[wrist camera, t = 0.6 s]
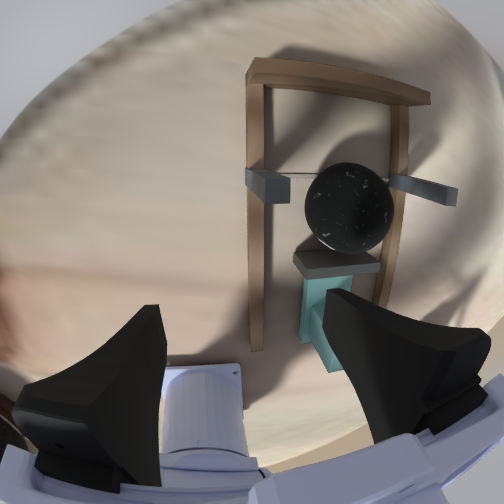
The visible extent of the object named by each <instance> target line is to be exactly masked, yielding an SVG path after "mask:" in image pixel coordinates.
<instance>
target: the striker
mask: <svg viewBox="0 0 504 504" xmlns="http://www.w3.org/2000/svg"><path fill="white" fill-rule="evenodd" d="M293 262H294V264H295V265H296V266H297V268H298V269H299V271H300V272H301V273H302V275H303V276H304V285H303V297H302V308H301V319H300V329H299V339H300V341H301V343H302V344H304V343H310V342H312V343H313V344H314V346H315V348H316V350H317V352H318V354H319V356H320V358H321V360H322V362H323V364H324V365H325V367H326V369H327V371H328V373H331V372H336V371H340V370H344V369H343V367H342V366H341V364H340V362H339V361H338V359H337V357H336V356H335V354H334V352H333V351H332V349H331V347H330V345H329V343H328V341H327V339H326V336H325V334H324V331H323V329H322V323H323V315H324V308H325V300H326V291H327V289H333V288H341V289H344V290H346V291H349V292H351V286H352V280H353V275H360V274H368V273H376V272H379V270H380V265H381V262H380V261H378V260H377V259H376V258H374V257H373V256H371V255H370V254H369V253H367V252H362V253H358V254H347V253H342V252H338V251H336V250H321V251H306V252H294V255H293Z"/></svg>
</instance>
